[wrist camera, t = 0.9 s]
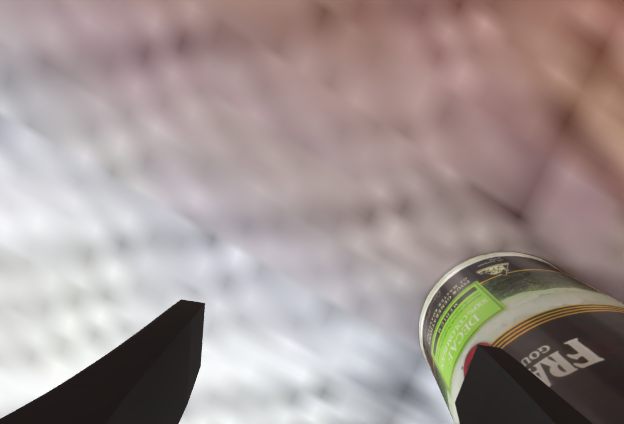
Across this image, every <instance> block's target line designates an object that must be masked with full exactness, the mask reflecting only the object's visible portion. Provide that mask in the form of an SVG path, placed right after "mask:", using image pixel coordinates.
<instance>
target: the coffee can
mask: <svg viewBox="0 0 624 424" xmlns="http://www.w3.org/2000/svg"><path fill="white" fill-rule="evenodd" d="M419 339H420V345H421V350H422V353H423V355H424V358H425V360H426V362H427V364H428V366H429V367H430V369H431V370H432V373H433V375H434V377H435V379H436V381H437V384H438V386H439V388H440V391H441V393H442V395H443V397H444V400H445V402H446V404H447V407H448V409H449V411H450V413H451V416H452V418H453V420H454V422H455V424H460V422H459V418H458V414H457V410H456V406H455V401H456V398H457V396H458V393H459V391H460V388H461V386H462V383H463V381H464V378H465V376H466V373H467V370H468V368H469V365H470V363H471V360H472V358H473V355H474V353H475V350H476V348H477V345H478V344H479V345H485V346H492V347H499V348H501V349H503V350H504V351H506V352H507V353H508V354H510V355H511V356H512V357H514V358H515V359H516V360H517V361H519V362H520V363H521V364H522V365H523V366H525V367H526V368H527V369H528V370H530V371H531V372H532V373H533V374H534V375H535V376H537V377H538V378H539V379H540V380H541V381H543V382H544V383H545V384H546V385H547V386H549V387H550V388H551V389H552V390H553V391H554V392H556V393H557V394H558V395H559V396H560V397H562V398H563V399H564V400H565V401H566V402H568V403H569V404H570V405H571V406H572V407H574V408H575V409H576V410H577V411H578V412H580V413H581V414H582V415H583V416H584V417H586V418H587V419H588V420H589V421H591V422H592V423H593V424H624V304H623V303H622V302H620V301H618V300H616V299H614V298H612V297H610V296H608V295H606V294H605V293H603V292H601V291H599V290H597V289H595V288H593V287H591V286H589V285H587V284H585V283H583V282H581V281H580V280H578V279H576V278H574V277H572V276H570V275H568V274H566V273H564V272H562V271H561V270H559V269H557V268H556V267H555V266H553V265H552V264H550V263H548V262H546V261H545V260H543V259H540V258H538V257H534V256H531V255H527V254H523V253H517V252H496V253H489V254H484V255H480V256H477V257H474V258H471V259H469V260H467V261H465V262H463V263H461V264H459V265H458V266H456V267H454V268H453V269H452V270H450V271H449V272H448V273H446V274H445V275H444V276H443V277H442V278H441V279H440V280H439V281H438V282H437V284H436V285H435V286H434V287H433V289H432V290H431V292H430V293H429V295H428V297H427V298H426V301H425V303H424V306H423V309H422V312H421V316H420V322H419Z"/></svg>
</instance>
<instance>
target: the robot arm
mask: <svg viewBox="0 0 624 424" xmlns="http://www.w3.org/2000/svg"><path fill="white" fill-rule="evenodd" d="M204 309H205V303H200V302H194V301H187V300H180V301H179V302H177V303H176V304H174V305H173V306H172V307H170V308H169V309H168V310H166V311H165V312H164V313H162V314H161V315H160V316H159V317H157V318H156V319H155V320H153V321H152V322H151V323H149V324H148V325H147V326H145V327H144V328H143V329H141V330H140V331H139V332H137V333H136V334H135V335H133V336H132V337H130V338H129V339H128V340H126V341H125V342H124V343H122V344H121V345H119V346H118V347H117V348H115V349H114V350H112V351H111V352H110V353H108V354H107V355H105V356H104V357H102V358H101V359H99V360H98V361H96V362H95V363H93V364H92V365H90V366H89V367H87V368H85V369H84V370H82V371H81V372H79V373H78V374H76V375H75V376H73V377H72V378H70V379H69V380H67V381H65V382H64V383H62V384H61V385H59V386H57V387H56V388H54V389H52V390H51V391H49V392H47V393H46V394H44V395H42V396H40V397H39V398H37V399H35V400H33V401H32V402H30V403H28V404H26V405H25V406H23V407H21V408H19V409H17V410H16V411H14V412H12V413H10V414H8V415H6V416H5V417H3V418H1V419H0V424H178V423H179V421H180V419H181V417H182V415H183V413H184V410H185V408H186V406H187V404H188V401H189V398H190V395H191V392H192V390H193V387H194V384H195V381H196V378H197V375H198V372H199V369H200V366H201V352H202V338H203V323H204ZM455 406H456V410H457V414H458V418H459V422H460V424H593V423H592V422H591V421H589V420H588V419H587V418H586V417H584V416H583V415H582V414H581V413H580V412H578V411H577V410H576V409H575V408H574V407H572V406H571V405H570V404H569V403H568V402H566V401H565V400H564V399H563V398H562V397H560V396H559V395H558V394H557V393H556V392H554V391H553V390H552V389H551V388H550V387H549V386H547V385H546V384H545V383H544V382H543V381H541V380H540V379H539V378H538V377H537V376H535V375H534V374H533V373H532V372H531V371H530V370H528V369H527V368H526V367H525V366H523V365H522V364H521V363H520V362H519V361H517V360H516V359H515V358H514V357H512V356H511V355H510V354H508V353H507V352H506V351H504V350H503V349H501V348H499V347H492V346H485V345H479V344H478V345H477V348H476V350H475V353H474V355H473V358H472V360H471V363H470V365H469V368H468V370H467V373H466V376H465V378H464V381H463V383H462V386H461V388H460V391H459V393H458V396H457V398H456V401H455Z"/></svg>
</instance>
